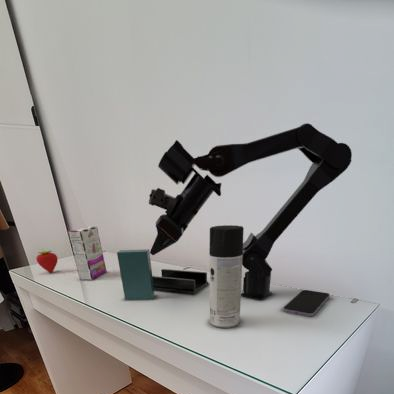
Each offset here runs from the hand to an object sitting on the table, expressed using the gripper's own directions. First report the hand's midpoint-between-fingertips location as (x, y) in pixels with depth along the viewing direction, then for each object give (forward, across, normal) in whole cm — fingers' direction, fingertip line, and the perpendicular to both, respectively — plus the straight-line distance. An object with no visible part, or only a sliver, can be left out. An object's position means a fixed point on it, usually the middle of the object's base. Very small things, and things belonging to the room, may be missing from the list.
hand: (154, 250), depth 75 cm
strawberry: (+43, -33, -27) cm, 60 cm away
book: (+13, 0, +4) cm, 14 cm away
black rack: (+7, -9, +12) cm, 17 cm away
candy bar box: (+29, -26, -13) cm, 41 cm away
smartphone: (-16, +8, +38) cm, 42 cm away
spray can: (-2, +18, +22) cm, 29 cm away
